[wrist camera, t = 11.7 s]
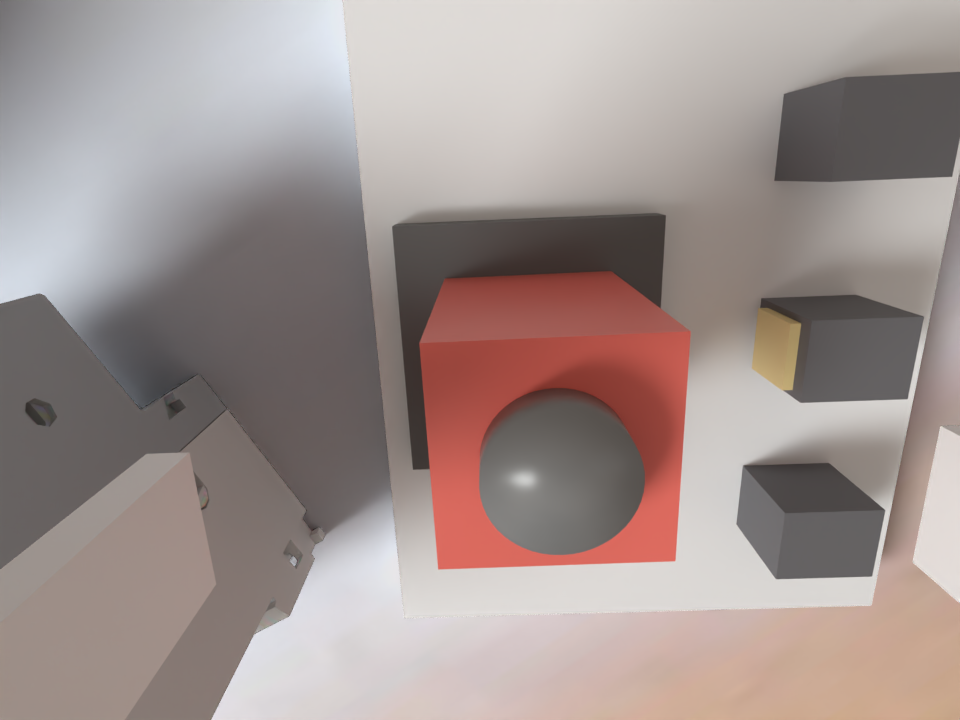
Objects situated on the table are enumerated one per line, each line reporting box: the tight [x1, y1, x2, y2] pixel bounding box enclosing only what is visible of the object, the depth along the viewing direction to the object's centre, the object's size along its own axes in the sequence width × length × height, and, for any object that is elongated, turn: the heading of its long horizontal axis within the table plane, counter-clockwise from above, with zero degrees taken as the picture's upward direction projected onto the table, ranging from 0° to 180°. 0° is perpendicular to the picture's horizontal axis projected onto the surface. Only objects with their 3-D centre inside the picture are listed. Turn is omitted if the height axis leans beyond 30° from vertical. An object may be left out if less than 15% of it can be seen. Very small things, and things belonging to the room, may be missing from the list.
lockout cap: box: [419, 271, 691, 570], centre depth 14 cm, size 5×5×8 cm
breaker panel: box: [342, 0, 960, 618], centre depth 18 cm, size 22×18×5 cm
